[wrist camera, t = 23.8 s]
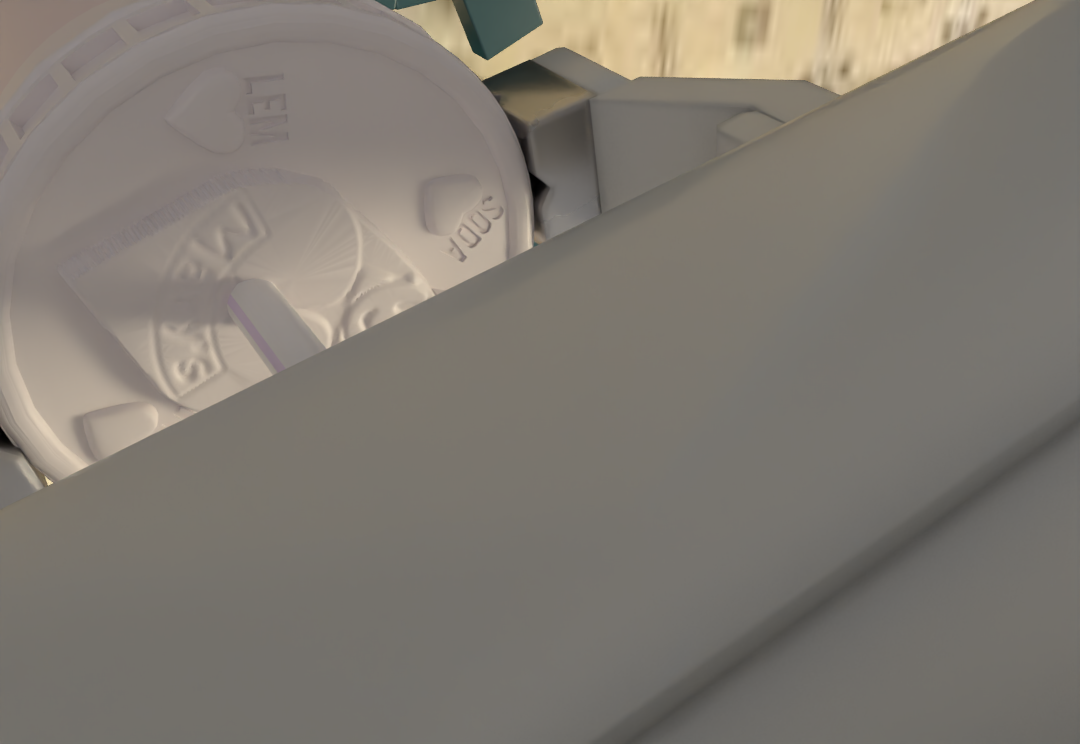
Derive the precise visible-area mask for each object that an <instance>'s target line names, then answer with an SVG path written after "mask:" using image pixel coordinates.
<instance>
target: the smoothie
mask: <svg viewBox="0 0 1080 744" xmlns="http://www.w3.org/2000/svg"><path fill="white" fill-rule="evenodd" d="M533 245H534V207H533V195H532V189H531V183H530V177H529V173H528V169H527V166H526V162H525V158H524V155H523V152H522V149H521V147H520V144H519V142H518V139H517V136H516V134H515V132H514V130H513V128H512V126H511V124H510V122H509V120H508V118H507V116H506V114H505V113H504V111H503V110H502V108H501V107H500V105H499V104H498V102H497V101H496V99H495V98H494V96H493V95H492V93H491V92H490V91H489V90H488V88H487V87H486V86H485V85H484V84H483V82H482V81H481V80H480V79H479V78H478V76H477V75H476V74H475V73H474V72H473V71H471V70H470V69H469V68H468V67H467V66H466V65H465V64H464V63H463V62H462V61H461V60H460V59H459V58H457V57H456V56H455V55H453V54H452V53H451V52H449V51H448V50H447V49H445V48H444V47H443V46H441V45H440V44H439V43H437V42H436V41H434V40H433V39H432V38H431V37H430V36H429V34H428V33H427V32H426V31H425V30H424V29H423V28H422V27H421V26H420V25H418V24H416V23H414V22H412V21H411V20H409V19H407V18H405V17H403V16H402V15H400V14H398V13H396V12H395V11H393V10H391V9H389V8H387V7H386V6H384V5H382V4H380V3H378V2H377V1H375V0H0V427H1V428H2V429H3V431H4V432H5V434H6V435H7V437H8V438H9V439H10V441H11V442H12V444H13V445H14V446H15V447H17V448H20V449H21V451H22V452H23V453H24V455H25V456H26V458H27V459H28V460H29V462H30V463H31V464H32V465H33V466H34V467H35V468H36V469H38V470H39V471H40V472H41V473H42V474H43V475H45V476H46V477H47V478H48V479H49V480H50V481H52V482H53V483H55V482H57V481H59V480H61V479H63V478H65V477H67V476H69V475H71V474H73V473H75V472H77V471H79V470H81V469H83V468H85V467H87V466H89V465H91V464H94V463H96V462H98V461H100V460H102V459H104V458H106V457H108V456H110V455H112V454H114V453H116V452H118V451H120V450H122V449H124V448H126V447H128V446H130V445H132V444H134V443H136V442H138V441H140V440H142V439H144V438H146V437H148V436H150V435H153V434H155V433H157V432H159V431H161V430H163V429H165V428H167V427H169V426H171V425H173V424H175V423H177V422H179V421H181V420H183V419H185V418H187V417H189V416H191V415H193V414H195V413H197V412H199V411H201V410H203V409H205V408H207V407H209V406H212V405H214V404H216V403H218V402H220V401H222V400H224V399H226V398H228V397H230V396H232V395H234V394H236V393H238V392H240V391H242V390H244V389H246V388H248V387H250V386H252V385H254V384H256V383H258V382H260V381H262V380H264V379H266V378H268V377H271V376H273V375H275V374H277V373H279V372H281V371H283V370H285V369H287V368H289V367H291V366H293V365H295V364H297V363H299V362H301V361H303V360H305V359H307V358H309V357H311V356H313V355H315V354H317V353H319V352H321V351H323V350H325V349H327V348H329V347H332V346H334V345H336V344H338V343H340V342H342V341H344V340H346V339H348V338H350V337H352V336H354V335H356V334H358V333H360V332H362V331H364V330H366V329H368V328H370V327H372V326H374V325H376V324H378V323H380V322H382V321H384V320H386V319H388V318H391V317H393V316H395V315H397V314H399V313H401V312H403V311H405V310H407V309H409V308H411V307H413V306H415V305H417V304H419V303H421V302H423V301H425V300H427V299H429V298H431V297H433V296H435V295H437V294H439V293H441V292H443V291H445V290H447V289H450V288H452V287H454V286H456V285H458V284H460V283H462V282H464V281H466V280H468V279H470V278H472V277H474V276H476V275H478V274H480V273H482V272H484V271H486V270H488V269H490V268H492V267H494V266H496V265H498V264H500V263H502V262H504V261H506V260H509V259H511V258H513V257H515V256H517V255H519V254H521V253H523V252H525V251H527V250H529V249H531V248H533Z"/></svg>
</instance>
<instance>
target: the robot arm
mask: <svg viewBox="0 0 1080 744" xmlns="http://www.w3.org/2000/svg"><path fill="white" fill-rule="evenodd" d="M482 82H483V84H484V85H485V86H486V87H487V88H488V90H489V91H490V92H491V93H492V95H493V96H494V98H495V99H496V101H497V102H498V104H499V105H500V107H501V108H502V110H503V111H504V113H505V114H506V116H507V118H508V120H509V122H510V124H511V126H512V128H513V130H514V132H515V134H516V136H517V139H518V142H519V144H520V147H521V149H522V152H523V155H524V158H525V162H526V166H527V169H528V173H529V177H530V183H531V189H532V195H533V207H534V241H535V242H536V243H537V244H539V245H537V246H535V247H533V248H531V249H529V250H527V251H525V252H523V253H521V254H519V255H517V256H515V257H513V258H511V259H509V260H506V261H504V262H502V263H500V264H498V265H496V266H494V267H492V268H490V269H488V270H486V271H484V272H482V273H480V274H478V275H476V276H474V277H472V278H470V279H468V280H466V281H464V282H462V283H460V284H458V285H456V286H454V287H452V288H450V289H447V290H445V291H443V292H441V293H439V294H437V295H435V296H433V297H431V298H429V299H427V300H425V301H423V302H421V303H419V304H417V305H415V306H413V307H411V308H409V309H407V310H405V311H403V312H401V313H399V314H397V315H395V316H393V317H391V318H388V319H386V320H384V321H382V322H380V323H378V324H376V325H374V326H372V327H370V328H368V329H366V330H364V331H362V332H360V333H358V334H356V335H354V336H352V337H350V338H348V339H346V340H344V341H342V342H340V343H338V344H336V345H334V346H332V347H329V348H327V349H325V350H323V351H321V352H319V353H317V354H315V355H313V356H311V357H309V358H307V359H305V360H303V361H301V362H299V363H297V364H295V365H293V366H291V367H289V368H287V369H285V370H283V371H281V372H279V373H277V374H275V375H273V376H271V377H268V378H266V379H264V380H262V381H260V382H258V383H256V384H254V385H252V386H250V387H248V388H246V389H244V390H242V391H240V392H238V393H236V394H234V395H232V396H230V397H228V398H226V399H224V400H222V401H220V402H218V403H216V404H214V405H212V406H209V407H207V408H205V409H203V410H201V411H199V412H197V413H195V414H193V415H191V416H189V417H187V418H185V419H183V420H181V421H179V422H177V423H175V424H173V425H171V426H169V427H167V428H165V429H163V430H161V431H159V432H157V433H155V434H153V435H150V436H148V437H146V438H144V439H142V440H140V441H138V442H136V443H134V444H132V445H130V446H128V447H126V448H124V449H122V450H120V451H118V452H116V453H114V454H112V455H110V456H108V457H106V458H104V459H102V460H100V461H98V462H96V463H94V464H91V465H89V466H87V467H85V468H83V469H81V470H79V471H77V472H75V473H73V474H71V475H69V476H67V477H65V478H63V479H61V480H59V481H57V482H55V483H53V484H51V485H49V486H48V485H47V482H46V479H45V476H44V475H43V474H42V473H41V472H40V471H39V470H38V469H36V468H35V467H34V466H33V465H32V464H31V463H30V462H29V460H28V459H27V458H26V456H25V455H24V453H23V452H22V451H21V449H20V448H17V447H15V446H14V445H13V444H12V442H11V441H10V439H9V438H8V437H7V435H6V434H5V432H4V431H3V429H2V428H1V427H0V744H1080V0H1034V1H1032V2H1030V3H1028V4H1026V5H1024V6H1022V7H1020V8H1018V9H1016V10H1014V11H1012V12H1010V13H1008V14H1006V15H1004V16H1002V17H1000V18H998V19H996V20H994V21H992V22H989V23H987V24H985V25H983V26H981V27H979V28H977V29H975V30H973V31H971V32H969V33H967V34H965V35H963V36H961V37H959V38H957V39H955V40H953V41H951V42H949V43H947V44H945V45H943V46H941V47H939V48H937V49H935V50H933V51H931V52H929V53H927V54H925V55H922V56H920V57H918V58H916V59H914V60H912V61H910V62H908V63H906V64H904V65H902V66H900V67H898V68H896V69H894V70H892V71H890V72H888V73H886V74H884V75H882V76H880V77H878V78H876V79H874V80H872V81H870V82H868V83H866V84H864V85H862V86H860V87H858V88H856V89H854V90H852V91H849V92H847V93H845V94H843V95H838V94H836V93H834V92H831V91H829V90H827V89H824V88H822V87H820V86H817V85H815V84H813V83H810V82H808V81H806V80H765V79H721V78H676V77H639V78H636V79H634V80H632V81H631V80H629V79H627V78H625V77H623V76H621V75H619V74H617V73H615V72H613V71H611V70H609V69H607V68H605V67H603V66H601V65H599V64H597V63H595V62H593V61H591V60H589V59H587V58H585V57H583V56H581V55H579V54H577V53H575V52H573V51H571V50H569V49H567V48H565V47H562V48H555V49H553V50H551V51H549V52H547V53H545V54H543V55H541V56H539V57H537V58H535V59H532V60H528V61H526V62H523V63H521V64H519V65H517V66H514V67H512V68H510V69H508V70H506V71H503V72H501V73H499V74H497V75H494V76H492V77H490V78H488V79H485V80H483V81H482Z"/></svg>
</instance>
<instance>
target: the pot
mask: <svg viewBox="0 0 1080 744" xmlns="http://www.w3.org/2000/svg"><path fill="white" fill-rule="evenodd" d="M375 1H377V2H378V3H380V4H382V5H384V6H386V7H387V8H389V9H391V10H393V9H397V10H398V9H402V8H407V7H411V6H415V5H419V4H423V3H427V2H431V1H436V0H375ZM452 1H453V3H454V6H455V8H456V11H457V13H458V16H459V18H460V21H461V23H462V26H463V28H464V31H465V33H466V36H467V38H468V41H469V43H470V46H471V48H472V51H473V52H474V53H475V54H477V55H479V56H481V57H482V58H484V59H486V60H489V59H491V58H492V57H494V56H495V55H497V54H498V53H500V52H501V51H503V50H504V49H506V48H507V47H509V46H510V45H512V44H513V43H515V42H516V41H518V40H519V39H521V38H522V37H524V36H525V35H527V34H528V33H530V32H531V31H533V30H534V29H536V28H537V27H539V26H540V25H542V24H543V21H542V18H541V15H540V12H539V9H538V6H537V3H536V0H452Z"/></svg>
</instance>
